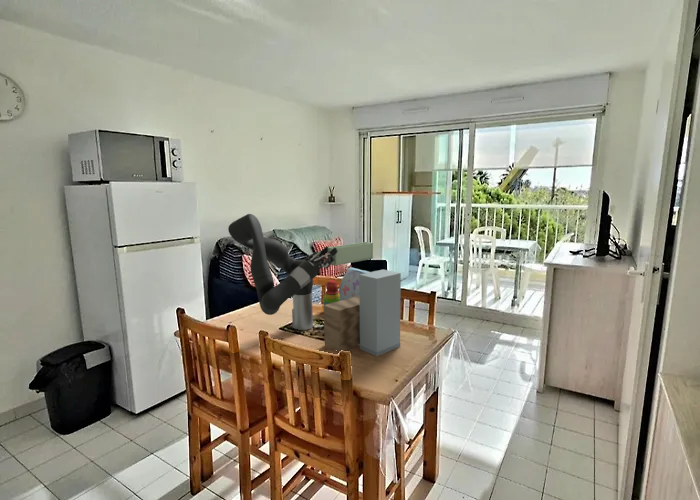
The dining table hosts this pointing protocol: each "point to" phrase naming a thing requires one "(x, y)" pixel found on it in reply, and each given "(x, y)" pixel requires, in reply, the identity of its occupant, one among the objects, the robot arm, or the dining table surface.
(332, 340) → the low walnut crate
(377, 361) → the dining table surface
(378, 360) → the dining table surface
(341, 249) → the sage crate
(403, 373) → the dining table surface
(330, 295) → the stacking bear
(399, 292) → the block
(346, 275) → the lunch bag
